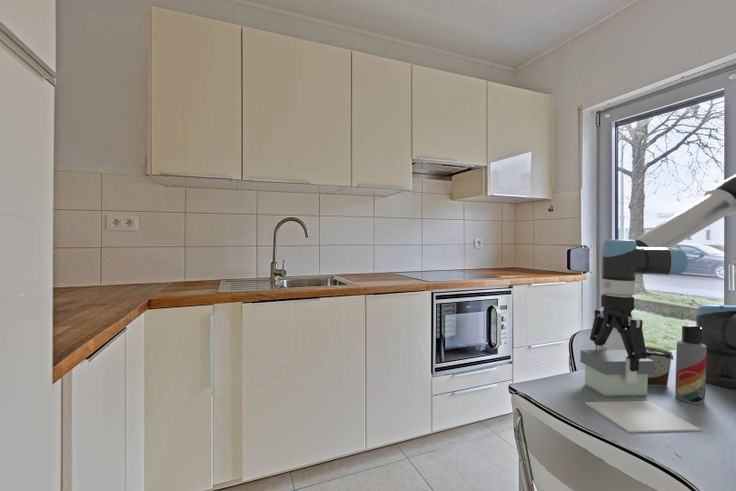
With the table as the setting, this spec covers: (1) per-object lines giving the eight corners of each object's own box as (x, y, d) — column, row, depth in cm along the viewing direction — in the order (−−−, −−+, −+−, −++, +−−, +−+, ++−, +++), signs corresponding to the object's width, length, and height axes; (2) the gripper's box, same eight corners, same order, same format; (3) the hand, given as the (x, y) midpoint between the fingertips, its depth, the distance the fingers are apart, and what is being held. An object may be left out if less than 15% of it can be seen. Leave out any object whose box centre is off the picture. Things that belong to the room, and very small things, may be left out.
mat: (647, 402, 87) (647, 401, 87) (700, 430, 74) (700, 429, 74) (585, 403, 86) (585, 402, 86) (628, 432, 73) (628, 431, 73)
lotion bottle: (694, 406, 86) (697, 328, 86) (669, 396, 91) (671, 323, 91) (710, 403, 87) (712, 327, 87) (684, 393, 93) (686, 322, 93)
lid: (624, 361, 99) (624, 349, 99) (653, 374, 90) (654, 361, 90) (580, 361, 98) (580, 349, 98) (605, 374, 89) (605, 361, 89)
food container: (656, 378, 104) (657, 345, 103) (672, 386, 98) (673, 352, 97) (614, 375, 105) (615, 344, 105) (627, 384, 99) (628, 350, 99)
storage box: (623, 384, 98) (624, 354, 98) (647, 396, 91) (648, 363, 91) (584, 385, 97) (585, 354, 97) (605, 397, 90) (606, 364, 90)
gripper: (577, 288, 104) (575, 360, 105) (639, 302, 82) (637, 392, 83) (600, 289, 105) (598, 360, 105) (668, 302, 83) (665, 392, 83)
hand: (615, 374), depth 94 cm, fingers closed on lid, 9 cm apart
